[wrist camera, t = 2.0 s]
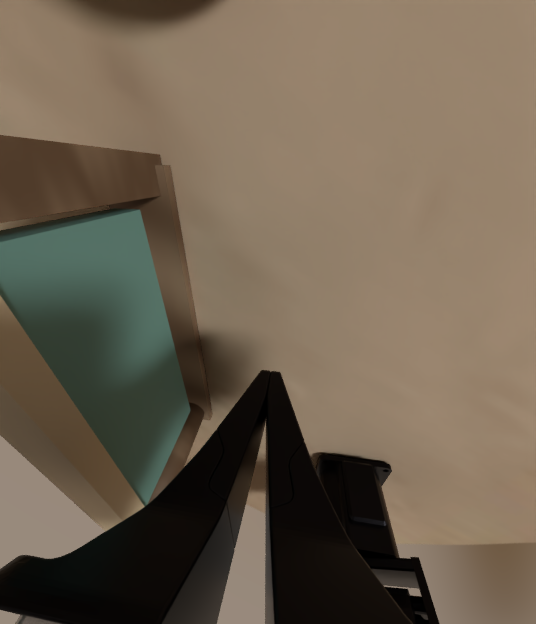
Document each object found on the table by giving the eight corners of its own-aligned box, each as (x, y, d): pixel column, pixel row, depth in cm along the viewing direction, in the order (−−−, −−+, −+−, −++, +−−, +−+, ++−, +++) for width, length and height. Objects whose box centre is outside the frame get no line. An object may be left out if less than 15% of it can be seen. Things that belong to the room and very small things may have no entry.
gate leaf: (194, 410, 18) (137, 537, 12) (172, 408, 18) (105, 531, 12) (146, 209, 10) (-101, 270, 4) (108, 208, 10) (-187, 263, 4)
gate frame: (212, 415, 20) (160, 559, 13) (178, 410, 21) (108, 549, 13) (168, 154, 10) (-235, 102, 2) (102, 152, 10) (-442, 101, 3)
